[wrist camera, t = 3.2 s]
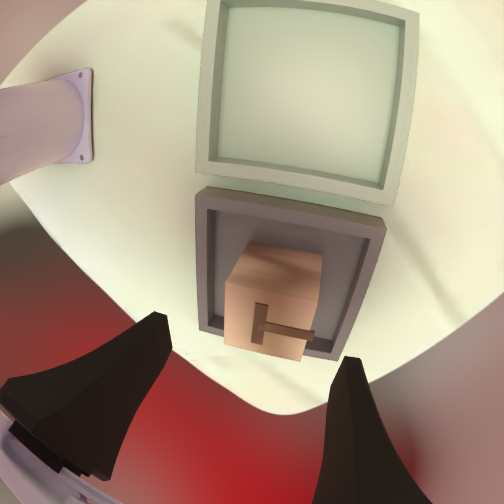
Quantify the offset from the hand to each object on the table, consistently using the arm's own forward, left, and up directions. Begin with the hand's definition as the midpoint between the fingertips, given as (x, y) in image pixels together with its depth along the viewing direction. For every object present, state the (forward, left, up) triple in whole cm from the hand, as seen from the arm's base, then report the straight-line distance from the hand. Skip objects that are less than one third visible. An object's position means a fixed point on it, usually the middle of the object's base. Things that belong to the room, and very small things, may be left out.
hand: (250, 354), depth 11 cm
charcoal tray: (0, -3, -10) cm, 10 cm away
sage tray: (0, +10, -10) cm, 14 cm away
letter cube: (0, -3, -10) cm, 10 cm away
